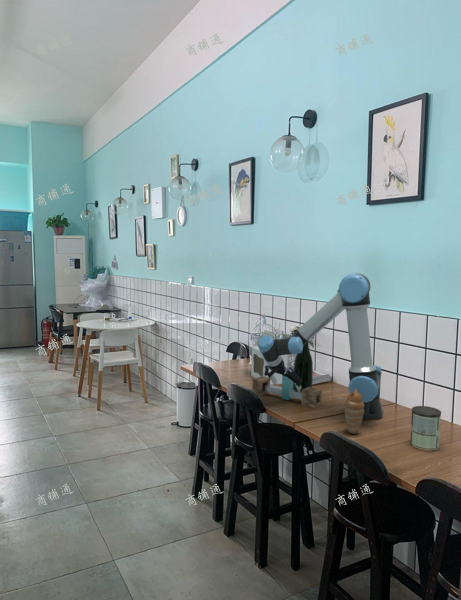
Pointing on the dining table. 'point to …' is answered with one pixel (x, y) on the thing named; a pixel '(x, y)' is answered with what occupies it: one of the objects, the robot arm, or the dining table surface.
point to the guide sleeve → (311, 397)
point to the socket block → (260, 385)
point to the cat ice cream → (354, 411)
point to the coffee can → (425, 427)
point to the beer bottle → (304, 368)
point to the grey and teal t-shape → (285, 389)
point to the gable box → (260, 362)
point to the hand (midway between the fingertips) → (287, 386)
